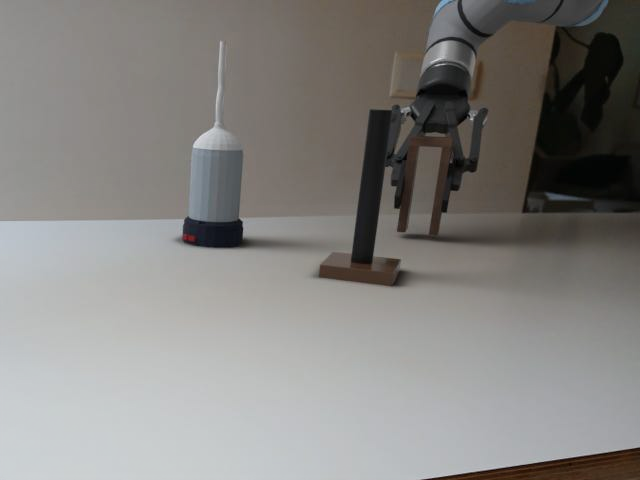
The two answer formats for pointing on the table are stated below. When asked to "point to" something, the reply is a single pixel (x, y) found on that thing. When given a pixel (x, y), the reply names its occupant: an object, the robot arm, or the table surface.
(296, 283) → the table surface
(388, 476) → the table surface
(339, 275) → the post on base
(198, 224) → the humidifier
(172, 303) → the table surface
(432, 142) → the wooden arch frame
